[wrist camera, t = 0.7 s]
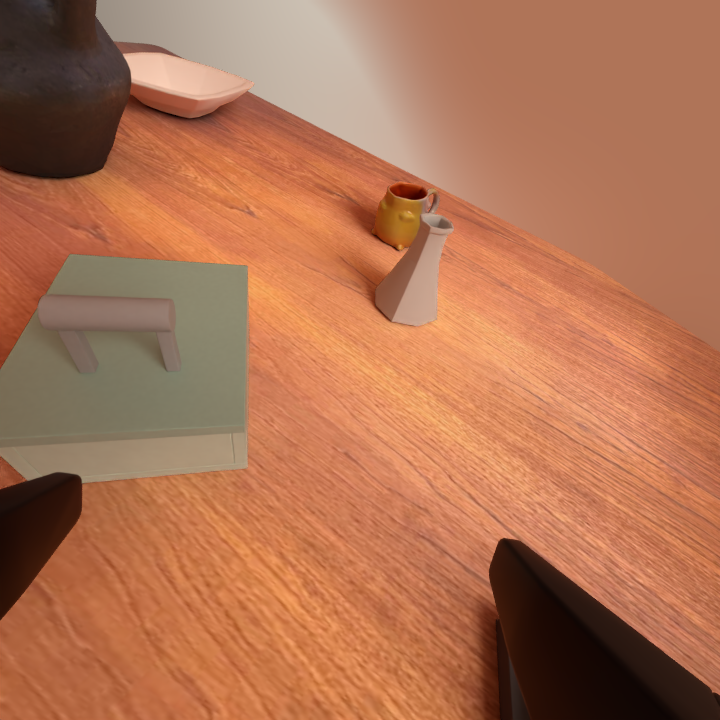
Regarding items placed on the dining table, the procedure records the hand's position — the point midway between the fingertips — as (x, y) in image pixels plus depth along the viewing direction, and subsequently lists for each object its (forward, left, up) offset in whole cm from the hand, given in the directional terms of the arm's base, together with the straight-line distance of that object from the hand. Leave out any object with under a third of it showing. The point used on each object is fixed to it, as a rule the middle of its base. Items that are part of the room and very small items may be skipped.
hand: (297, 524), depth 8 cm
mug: (+47, -1, -15) cm, 50 cm away
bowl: (+69, +46, -15) cm, 85 cm away
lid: (+11, +13, -9) cm, 19 cm away
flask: (+30, -3, -15) cm, 34 cm away
